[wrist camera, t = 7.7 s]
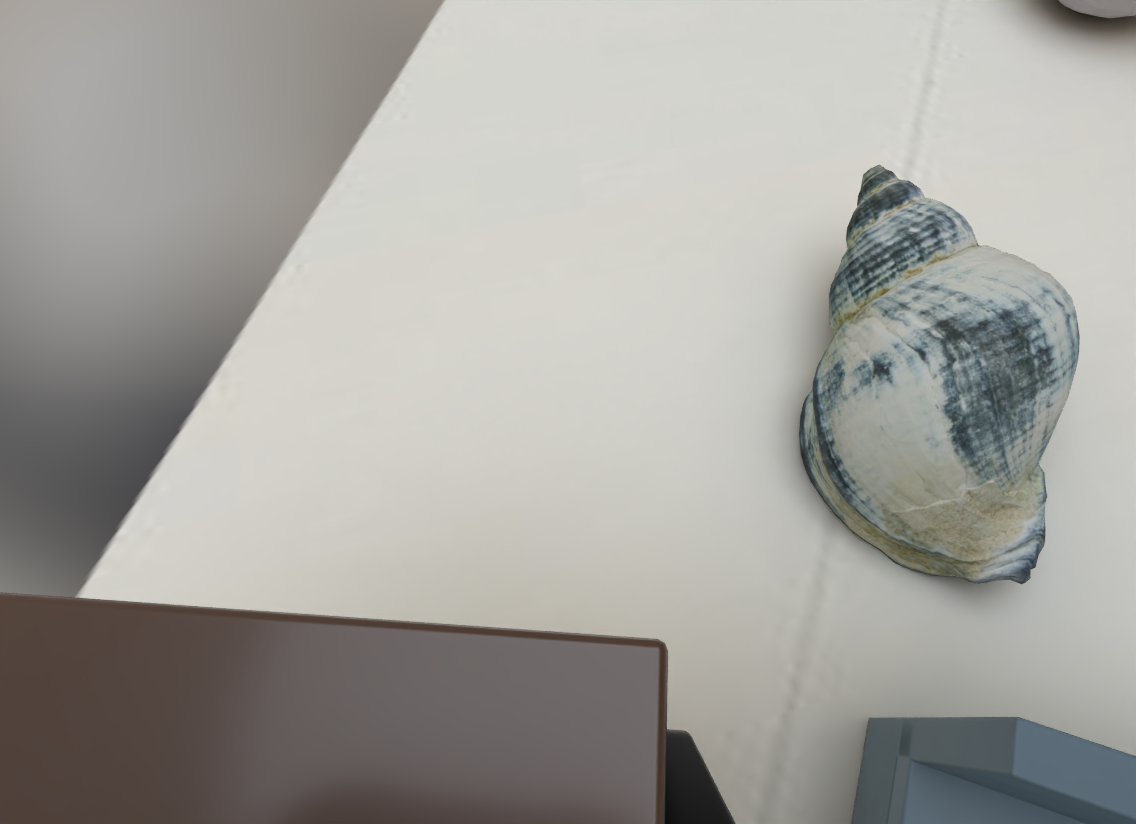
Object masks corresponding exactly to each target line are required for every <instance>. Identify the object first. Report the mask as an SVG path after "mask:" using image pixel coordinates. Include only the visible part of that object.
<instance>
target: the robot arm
mask: <svg viewBox="0 0 1136 824" xmlns="http://www.w3.org/2000/svg"><path fill="white" fill-rule="evenodd" d="M665 824H735V822H734V820H733V818H732V816H731V814H730V812H729V810H728V808H727V806H726V804H725V802H724V800H723V798H722V796H721V794H720V792H719V790H718V788H717V786H716V784H715V782H714V780H713V778H712V776H711V774H710V772H709V770H708V768H707V766H706V764H705V762H704V760H703V758H702V756H701V754H700V752H699V751H698V749H697V747H696V745H695V743H694V741H693V739H692V737H691V735H690V734H689V733H688V732H686V731H682V730H671V729H667V734H666V787H665Z"/></svg>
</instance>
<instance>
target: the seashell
mask: <svg viewBox="0 0 1136 824" xmlns="http://www.w3.org/2000/svg"><path fill="white" fill-rule="evenodd" d="M857 206H858V207H857V208H856V210H855V211H854V213H853V215H852V218H851V220H850V223H849V225H848V227H847V235H846V241H847V247H848V250H847V252H846V253H845V255H844V256H843V258H842V260H841V264H840V267H839V269H838V271H837V272H836V274H835V277H834V280H833V282H832V284H831V289H830V294H829V324H830V327H831V330H832V332H833V334H834V336H835V337H834V339H833V341H832V343H831V345H830V346H829V348H828V349H827V350H826V352H825V353H824V355H823V357H822V359H821V361H820V363H819V364H818V366H817V370H816V374H815V377H814V381H813V390H812V391H811V392H810V394H809V395H808V396H807V397H806V399H805V402H804V404H803V408H802V412H801V417H800V431H799V438H800V448H801V456H802V459H803V462H804V466H805V468H806V470H807V473H808V475H809V477H810V480H811V482H812V483H813V485H814V486H815V488H816V489H817V491H818V492H819V494H820V495H821V497H822V498H823V499H824V501H825V502H826V503H827V504H828V506H829V507H830V508H831V509H832V511H833V512H834V513H835V514H836V515H837V516H838V517H839V518H840V519H841V520H842V521H843V522H844V523H845V524H846V525H847V526H848V527H849V528H850V529H851V530H852V531H853V532H855V533H856V534H857V535H858V536H860V537H861V538H863V539H864V540H866V541H867V542H869V543H871V544H872V545H874V546H876V547H877V548H879V549H880V550H882V551H883V552H884V553H885V554H886V555H887V556H888V557H889V558H890V559H892V560H893V561H894V562H896V563H897V564H899V565H902V566H904V567H907V568H910V569H912V570H916V571H919V572H922V573H925V574H930V575H938V576H950V575H951V576H953V577H956V576H958V577H962V578H964V579H966V580H968V581H970V582H973V583H985V582H990V581H996V580H1012V581H1015V582H1017V583H1020V584H1023V583H1025V582H1026V581H1028V580H1029V579H1030V569H1032V568H1035V566H1036V563H1037V559H1038V555H1039V553H1040V551H1041V550H1042V548H1043V546H1044V543H1045V517H1044V514H1045V502H1046V498H1047V493H1046V487H1045V477H1044V472H1043V470H1042V469H1041V467H1040V466H1039V461H1040V459H1041V457H1042V455H1043V453H1044V450H1045V448H1046V446H1047V444H1048V442H1049V440H1050V438H1051V435H1052V433H1053V431H1054V428H1055V426H1056V424H1057V421H1058V419H1059V417H1060V414H1061V412H1062V410H1063V407H1064V405H1065V403H1066V400H1067V398H1068V395H1069V391H1070V388H1071V385H1072V381H1073V377H1074V374H1075V370H1076V367H1077V361H1078V354H1079V338H1080V337H1079V330H1078V323H1077V315H1076V311H1075V307H1074V304H1073V301H1072V298H1071V297H1070V296H1069V294H1068V293H1067V292H1066V290H1065V289H1064V288H1063V286H1062V285H1061V284H1060V283H1059V282H1058V281H1057V280H1056V279H1054V278H1053V277H1052V276H1051V275H1050V274H1049V273H1046V272H1044V271H1042V270H1040V269H1039V268H1038V267H1037V266H1036V265H1034V264H1033V263H1030V262H1028V261H1026V260H1024V259H1022V258H1020V257H1018V256H1016V255H1013V254H1008V253H1004V252H1002V251H1000V250H998V249H995V248H992V247H989V246H979V245H978V243H977V240H976V238H975V235H974V232H973V229H972V228H971V226H970V225H969V223H968V222H967V220H966V219H965V218H964V217H963V216H962V215H960V214H959V213H958V212H956V211H955V210H954V209H952V208H951V207H949V206H947V205H945V204H944V203H942V202H939V201H936V200H933V199H928V198H925V197H924V195H923V193H922V191H921V189H920V188H918V187H917V186H915V185H914V184H913V183H911V182H910V181H906V180H899V179H898V178H897V177H896V175H895V174H894V173H893V172H892V171H889V170H886V169H885V168H884V167H882V166H881V165H878V166H875V167H873V168H871V169H870V170H868V171H867V172H866V173H865V174H864V175H863V179H862V185H861V190H860V193H859V195H858V202H857Z"/></svg>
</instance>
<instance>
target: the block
mask: <svg viewBox="0 0 1136 824" xmlns="http://www.w3.org/2000/svg"><path fill="white" fill-rule="evenodd" d="M667 680H668V650H667V647H666V645H665V643H664V642H662V641H660V640H658V639H649V638H635V637H621V636H607V635H593V634H579V633H565V632H551V631H537V630H522V629H508V628H494V627H480V626H466V625H452V624H438V623H424V622H410V621H396V620H382V619H368V618H353V617H339V616H325V615H311V614H297V613H283V612H269V611H255V610H241V609H227V608H213V607H199V606H185V605H170V604H156V603H142V602H128V601H114V600H100V599H86V598H72V597H58V596H44V595H30V594H16V593H15V594H14V593H2V592H0V824H665V787H666V734H667Z"/></svg>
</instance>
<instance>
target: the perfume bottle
mask: <svg viewBox="0 0 1136 824" xmlns="http://www.w3.org/2000/svg"><path fill="white" fill-rule="evenodd" d="M1058 1H1059V2H1061V3H1062V4H1063V5H1064V6H1066V7H1068V8H1070V9H1072V10H1075V11H1077V12H1080V13H1084V14H1088V15H1093V16H1099V17H1105V18H1116V17H1125V16H1134V15H1136V0H1058Z"/></svg>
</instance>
